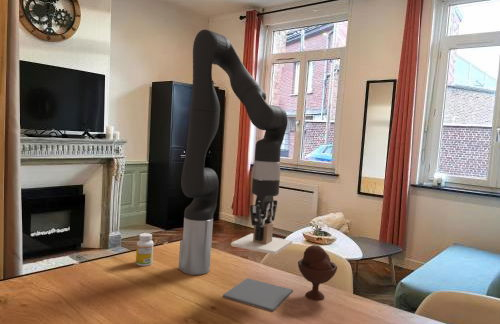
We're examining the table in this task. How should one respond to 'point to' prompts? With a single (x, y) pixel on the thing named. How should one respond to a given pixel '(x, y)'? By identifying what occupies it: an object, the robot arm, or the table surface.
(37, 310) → the table surface
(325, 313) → the table surface
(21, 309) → the table surface
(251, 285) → the mat
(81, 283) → the table surface
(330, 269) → the ice cream bowl
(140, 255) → the supplement bottle
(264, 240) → the lid
